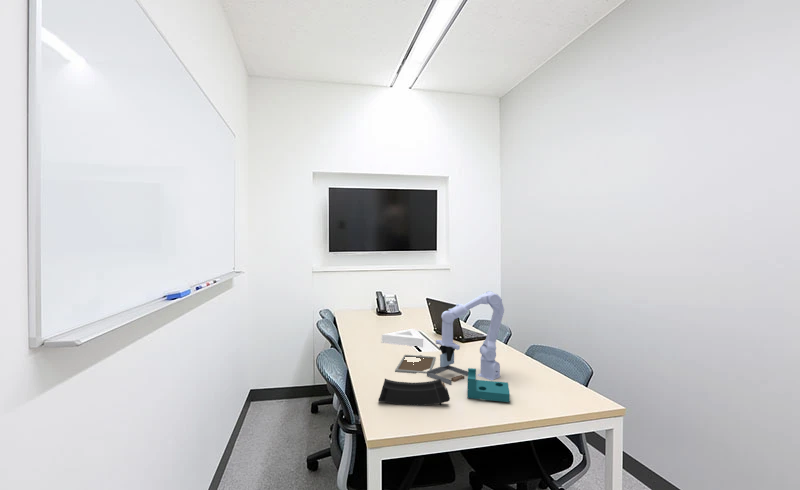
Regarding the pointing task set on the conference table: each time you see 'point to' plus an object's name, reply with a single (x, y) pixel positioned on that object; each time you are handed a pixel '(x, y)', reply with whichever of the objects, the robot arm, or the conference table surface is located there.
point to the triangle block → (403, 338)
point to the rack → (433, 372)
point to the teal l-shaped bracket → (486, 388)
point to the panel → (444, 360)
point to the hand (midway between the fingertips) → (447, 360)
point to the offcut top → (457, 378)
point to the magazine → (414, 393)
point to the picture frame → (416, 364)
